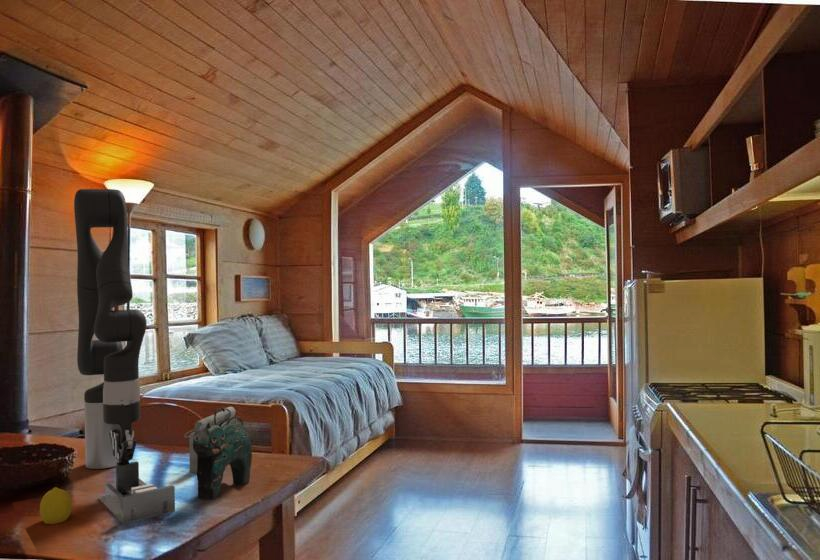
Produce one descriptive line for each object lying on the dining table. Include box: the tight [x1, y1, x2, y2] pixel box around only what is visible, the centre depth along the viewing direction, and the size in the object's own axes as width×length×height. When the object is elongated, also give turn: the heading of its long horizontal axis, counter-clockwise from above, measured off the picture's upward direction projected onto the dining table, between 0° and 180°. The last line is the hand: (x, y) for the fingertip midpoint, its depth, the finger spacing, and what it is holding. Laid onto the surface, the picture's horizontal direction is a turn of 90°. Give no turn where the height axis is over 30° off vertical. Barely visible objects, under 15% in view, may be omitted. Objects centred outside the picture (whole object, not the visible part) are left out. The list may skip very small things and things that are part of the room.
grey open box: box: [97, 478, 176, 525], centre depth 134 cm, size 20×10×6 cm, turn 39°
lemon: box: [39, 486, 73, 525], centre depth 126 cm, size 6×6×8 cm
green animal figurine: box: [193, 406, 253, 501], centre depth 145 cm, size 20×6×20 cm, turn 166°
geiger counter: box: [183, 406, 238, 473], centre depth 168 cm, size 14×6×25 cm
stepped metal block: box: [115, 461, 140, 496], centre depth 135 cm, size 9×4×7 cm, turn 39°
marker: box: [131, 483, 158, 494], centre depth 129 cm, size 4×4×5 cm
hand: (123, 477), depth 141 cm, fingers closed
